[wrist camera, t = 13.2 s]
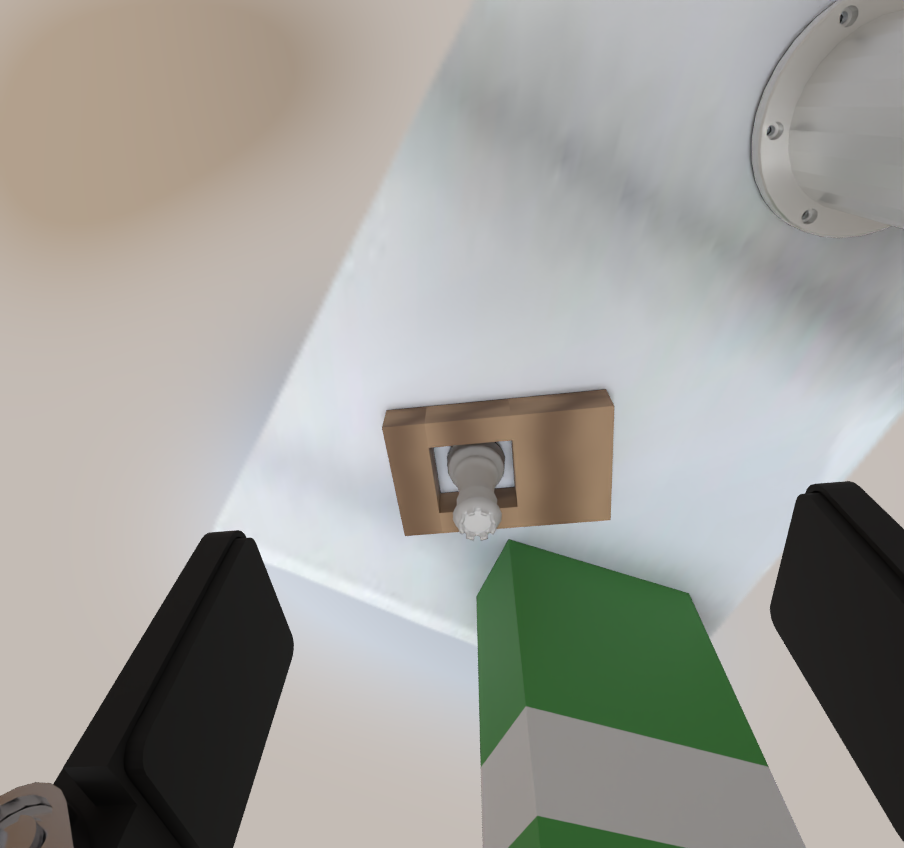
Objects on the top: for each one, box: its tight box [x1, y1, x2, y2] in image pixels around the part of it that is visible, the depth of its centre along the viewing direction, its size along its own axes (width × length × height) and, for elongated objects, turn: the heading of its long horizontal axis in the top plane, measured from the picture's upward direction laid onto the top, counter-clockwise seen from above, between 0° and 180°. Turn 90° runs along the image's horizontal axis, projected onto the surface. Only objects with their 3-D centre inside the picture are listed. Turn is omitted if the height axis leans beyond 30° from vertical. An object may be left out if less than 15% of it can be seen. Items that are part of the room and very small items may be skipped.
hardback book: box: [477, 540, 806, 848], centre depth 39 cm, size 18×7×24 cm, turn 70°
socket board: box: [382, 389, 614, 536], centre depth 41 cm, size 16×10×2 cm, turn 97°
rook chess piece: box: [447, 442, 505, 541], centre depth 39 cm, size 4×4×8 cm
